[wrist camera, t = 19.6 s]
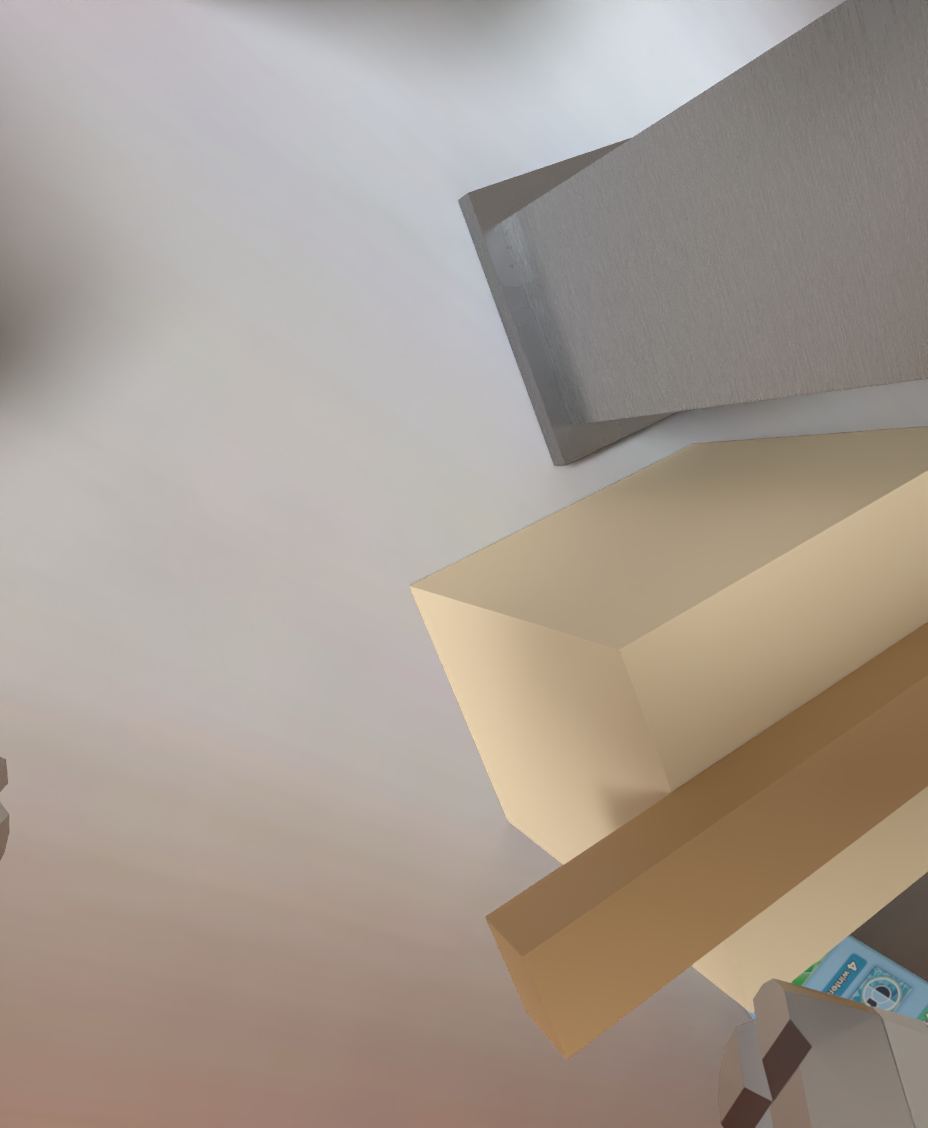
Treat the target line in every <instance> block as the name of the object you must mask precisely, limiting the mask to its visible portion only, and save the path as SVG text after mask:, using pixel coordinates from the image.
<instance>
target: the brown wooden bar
mask: <svg viewBox="0 0 928 1128" xmlns="http://www.w3.org/2000/svg"><path fill="white" fill-rule="evenodd" d="M927 786H928V623H926V624H925V625H923V626H922V627H920V628H919V629H917V630H916V631H914V632H913V633H911V634H910V635H908V636H907V637H905V638H904V639H902V640H901V641H899V642H898V643H896V644H895V645H893V646H892V647H890V648H889V649H887V650H886V651H884V652H883V653H881V654H880V655H878V656H877V657H875V658H874V659H872V660H871V661H869V662H868V663H866V664H865V665H863V666H862V667H860V668H859V669H857V670H856V671H854V672H853V673H851V674H850V675H848V676H847V677H845V678H844V679H842V680H841V681H839V682H838V683H836V684H835V685H833V686H832V687H830V688H829V689H827V690H826V691H824V692H823V693H821V694H820V695H818V696H817V697H815V698H814V699H812V700H811V701H809V702H807V703H806V704H804V705H803V706H801V707H800V708H798V709H797V710H795V711H794V712H792V713H791V714H789V715H788V716H786V717H785V718H783V719H782V720H780V721H779V722H777V723H776V724H774V725H773V726H771V727H770V728H768V729H767V730H765V731H764V732H762V733H761V734H759V735H758V736H756V737H755V738H753V739H752V740H750V741H749V742H747V743H746V744H744V745H743V746H741V747H740V748H738V749H737V750H735V751H734V752H732V753H731V754H729V755H728V756H726V757H725V758H723V759H722V760H720V761H719V762H717V763H716V764H714V765H713V766H711V767H710V768H708V769H707V770H705V771H704V772H702V773H701V774H699V775H698V776H696V777H695V778H693V779H692V780H690V781H689V782H687V783H686V784H684V785H683V786H681V787H680V788H678V789H677V790H675V791H674V792H672V793H671V794H669V795H668V796H666V797H665V798H663V799H662V800H660V801H659V802H657V803H656V804H654V805H653V806H651V807H650V808H648V809H647V810H645V811H644V812H642V813H641V814H639V815H638V816H636V817H635V818H633V819H632V820H630V821H629V822H627V823H626V824H624V825H623V826H621V827H620V828H618V829H617V830H615V831H614V832H612V833H611V834H609V835H608V836H606V837H605V838H603V839H602V840H600V841H599V842H597V843H596V844H594V845H593V846H591V847H590V848H588V849H587V850H585V851H584V852H582V853H581V854H579V855H578V856H576V857H575V858H573V859H572V860H570V861H569V862H567V863H566V864H564V865H563V866H561V867H559V868H558V869H556V870H555V871H553V872H552V873H550V874H549V875H547V876H546V877H544V878H543V879H541V880H540V881H538V882H537V883H535V884H534V885H532V886H531V887H529V888H528V889H526V890H525V891H523V892H522V893H520V894H519V895H517V896H516V897H514V898H513V899H511V900H510V901H508V902H507V903H505V904H504V905H502V906H501V907H499V908H498V909H496V910H495V911H493V912H492V913H490V914H489V915H487V916H486V917H485V918H486V920H487V923H488V925H489V927H490V930H491V932H492V934H493V936H494V939H495V941H496V943H497V945H498V948H499V950H500V952H501V955H502V957H503V959H504V961H505V964H506V966H507V968H508V971H509V973H510V975H511V977H512V980H513V982H514V984H515V986H516V989H517V991H518V993H519V996H520V998H521V1000H522V1002H523V1005H524V1007H525V1009H526V1012H527V1013H528V1014H529V1016H530V1017H531V1018H532V1019H533V1020H534V1022H535V1023H536V1024H537V1025H538V1026H539V1027H540V1029H541V1030H542V1031H543V1032H544V1033H545V1035H546V1036H547V1037H548V1038H549V1039H550V1041H551V1042H552V1043H553V1044H554V1045H555V1047H556V1048H557V1049H558V1050H559V1051H560V1052H561V1054H562V1055H563V1056H564V1057H565V1058H566V1060H567V1059H569V1058H570V1057H571V1056H572V1055H574V1054H575V1053H576V1052H578V1051H579V1050H580V1049H582V1048H583V1047H584V1046H586V1045H587V1044H588V1043H590V1042H591V1041H592V1040H594V1039H595V1038H596V1037H598V1036H599V1035H600V1034H601V1033H603V1032H604V1031H605V1030H607V1029H608V1028H609V1027H611V1026H612V1025H613V1024H615V1023H616V1022H617V1021H619V1020H620V1019H621V1018H623V1017H624V1016H625V1015H627V1014H628V1013H629V1012H631V1011H632V1010H633V1009H634V1008H636V1007H637V1006H638V1005H640V1004H641V1003H642V1002H644V1001H645V1000H646V999H648V998H649V997H650V996H652V995H653V994H654V993H656V992H657V991H658V990H660V989H661V988H662V987H663V986H665V985H666V984H667V983H669V982H670V981H671V980H673V979H674V978H675V977H677V976H678V975H679V974H681V973H682V972H683V971H685V970H686V969H687V968H689V967H690V966H691V965H693V964H694V963H695V962H696V961H698V960H699V959H700V958H702V957H703V956H704V955H706V954H707V953H708V952H710V951H711V950H712V949H714V948H715V947H716V946H718V945H719V944H720V943H722V942H723V941H724V940H725V939H727V938H728V937H729V936H731V935H732V934H733V933H735V932H736V931H737V930H739V929H740V928H741V927H743V926H744V925H745V924H747V923H748V922H749V921H751V920H752V919H753V918H755V917H756V916H757V915H758V914H760V913H761V912H762V911H764V910H765V909H766V908H768V907H769V906H770V905H772V904H773V903H774V902H776V901H777V900H778V899H780V898H781V897H782V896H784V895H785V894H786V893H787V892H789V891H790V890H791V889H793V888H794V887H795V886H797V885H798V884H799V883H801V882H802V881H803V880H805V879H806V878H807V877H809V876H810V875H811V874H813V873H814V872H815V871H817V870H818V869H819V868H820V867H822V866H823V865H824V864H826V863H827V862H828V861H830V860H831V859H832V858H834V857H835V856H836V855H838V854H839V853H840V852H842V851H843V850H844V849H846V848H847V847H848V846H849V845H851V844H852V843H853V842H855V841H856V840H857V839H859V838H860V837H861V836H863V835H864V834H865V833H867V832H868V831H869V830H871V829H872V828H873V827H875V826H876V825H877V824H879V823H880V822H881V821H882V820H884V819H885V818H886V817H888V816H889V815H890V814H892V813H893V812H894V811H896V810H897V809H898V808H900V807H901V806H902V805H904V804H905V803H906V802H908V801H909V800H910V799H911V798H913V797H914V796H915V795H917V794H918V793H919V792H921V791H922V790H923V789H925V788H926V787H927Z"/></svg>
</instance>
